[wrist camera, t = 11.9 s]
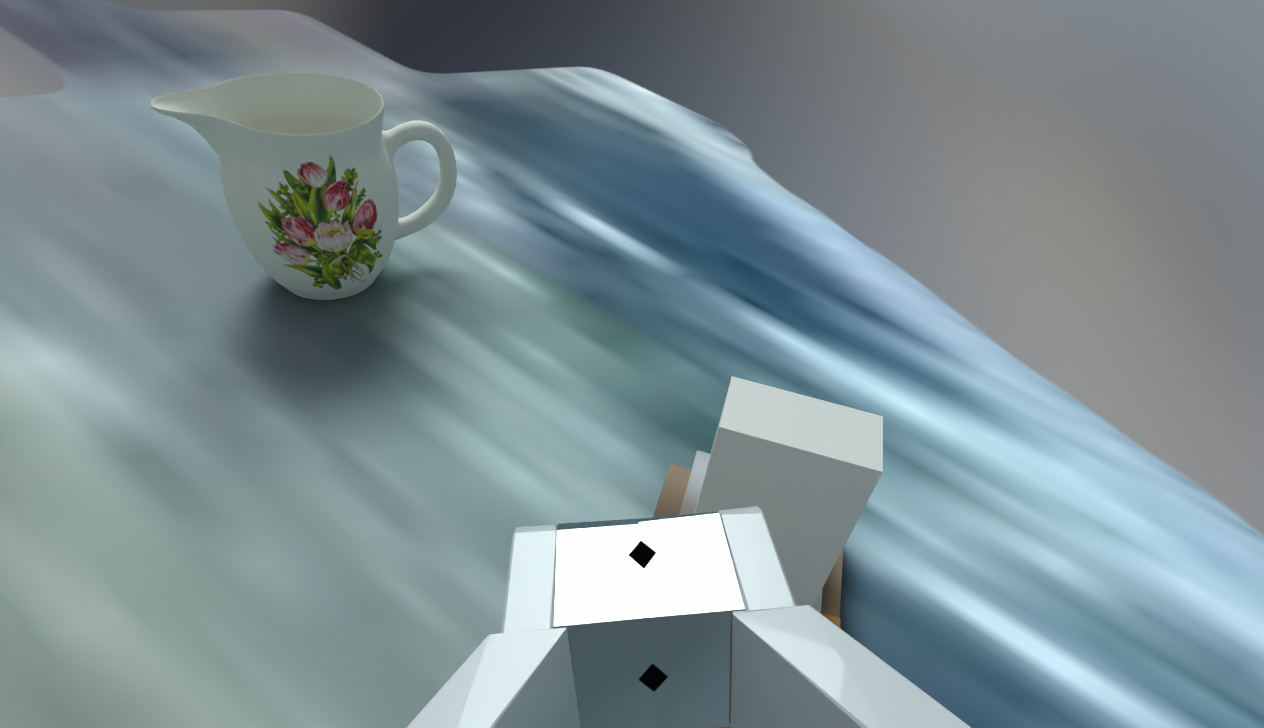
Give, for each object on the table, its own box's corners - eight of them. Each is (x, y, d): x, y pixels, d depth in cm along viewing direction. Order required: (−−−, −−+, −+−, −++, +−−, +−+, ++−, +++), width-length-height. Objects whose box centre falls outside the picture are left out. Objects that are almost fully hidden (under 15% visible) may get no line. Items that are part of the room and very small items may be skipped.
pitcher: (483, 287, 55) (479, 111, 46) (222, 342, 47) (156, 142, 38) (437, 218, 62) (426, 53, 53) (202, 256, 54) (142, 69, 45)
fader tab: (794, 649, 33) (882, 482, 25) (668, 610, 34) (716, 436, 26) (801, 577, 36) (882, 407, 28) (685, 543, 37) (733, 368, 29)
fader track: (791, 1172, 22) (825, 1168, 20) (488, 1047, 23) (487, 1030, 21) (834, 534, 41) (854, 494, 39) (665, 485, 42) (674, 444, 40)
